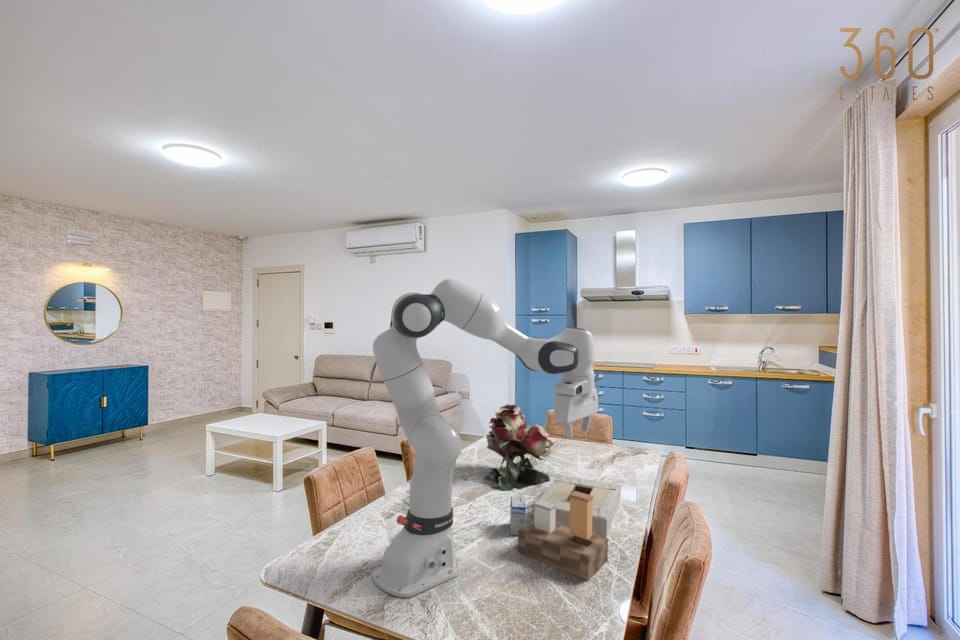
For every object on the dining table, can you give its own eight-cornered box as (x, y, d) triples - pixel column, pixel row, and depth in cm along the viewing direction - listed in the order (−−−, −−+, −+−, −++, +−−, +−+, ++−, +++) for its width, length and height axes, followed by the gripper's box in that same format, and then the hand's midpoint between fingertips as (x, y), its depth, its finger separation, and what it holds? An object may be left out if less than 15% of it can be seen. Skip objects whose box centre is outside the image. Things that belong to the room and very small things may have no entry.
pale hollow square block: (608, 543, 127) (620, 502, 157) (608, 517, 127) (620, 481, 157) (532, 528, 137) (557, 492, 166) (532, 504, 137) (557, 472, 166)
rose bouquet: (560, 478, 179) (561, 406, 179) (505, 494, 162) (506, 413, 162) (520, 462, 200) (521, 397, 200) (467, 473, 183) (468, 402, 184)
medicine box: (510, 523, 138) (510, 496, 138) (524, 523, 138) (524, 496, 138) (511, 535, 130) (511, 506, 130) (526, 536, 130) (526, 507, 130)
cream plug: (549, 546, 120) (550, 508, 120) (533, 540, 123) (534, 503, 123) (555, 542, 122) (556, 504, 122) (539, 536, 125) (540, 499, 125)
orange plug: (587, 540, 113) (587, 499, 113) (569, 533, 116) (569, 494, 116) (592, 535, 115) (592, 495, 115) (574, 529, 118) (575, 490, 119)
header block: (588, 580, 108) (588, 556, 108) (517, 551, 121) (518, 530, 121) (607, 560, 117) (607, 538, 117) (540, 535, 130) (540, 515, 130)
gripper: (584, 380, 133) (583, 425, 133) (550, 387, 117) (549, 438, 117) (603, 382, 129) (603, 429, 129) (571, 390, 113) (570, 443, 113)
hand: (577, 433), depth 123 cm, fingers open, 8 cm apart
